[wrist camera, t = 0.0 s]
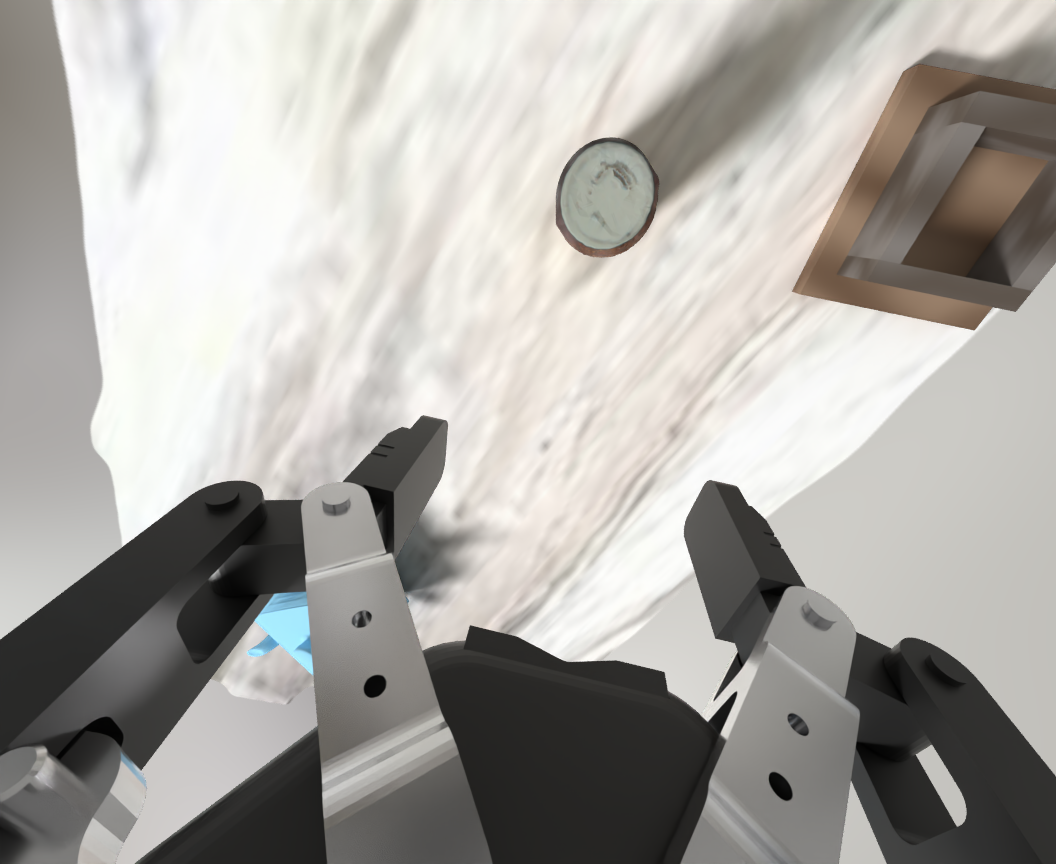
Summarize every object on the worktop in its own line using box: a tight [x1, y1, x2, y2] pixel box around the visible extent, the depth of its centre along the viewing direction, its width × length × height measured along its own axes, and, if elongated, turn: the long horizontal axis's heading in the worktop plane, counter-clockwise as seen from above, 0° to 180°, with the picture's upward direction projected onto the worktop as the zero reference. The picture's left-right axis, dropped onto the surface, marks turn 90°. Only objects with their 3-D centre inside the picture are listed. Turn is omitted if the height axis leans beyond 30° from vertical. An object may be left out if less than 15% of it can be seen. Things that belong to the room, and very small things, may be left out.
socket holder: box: [792, 64, 1056, 330], centre depth 28 cm, size 15×15×6 cm
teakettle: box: [247, 592, 409, 675], centre depth 55 cm, size 19×19×15 cm
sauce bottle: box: [556, 138, 659, 257], centre depth 24 cm, size 7×6×20 cm
